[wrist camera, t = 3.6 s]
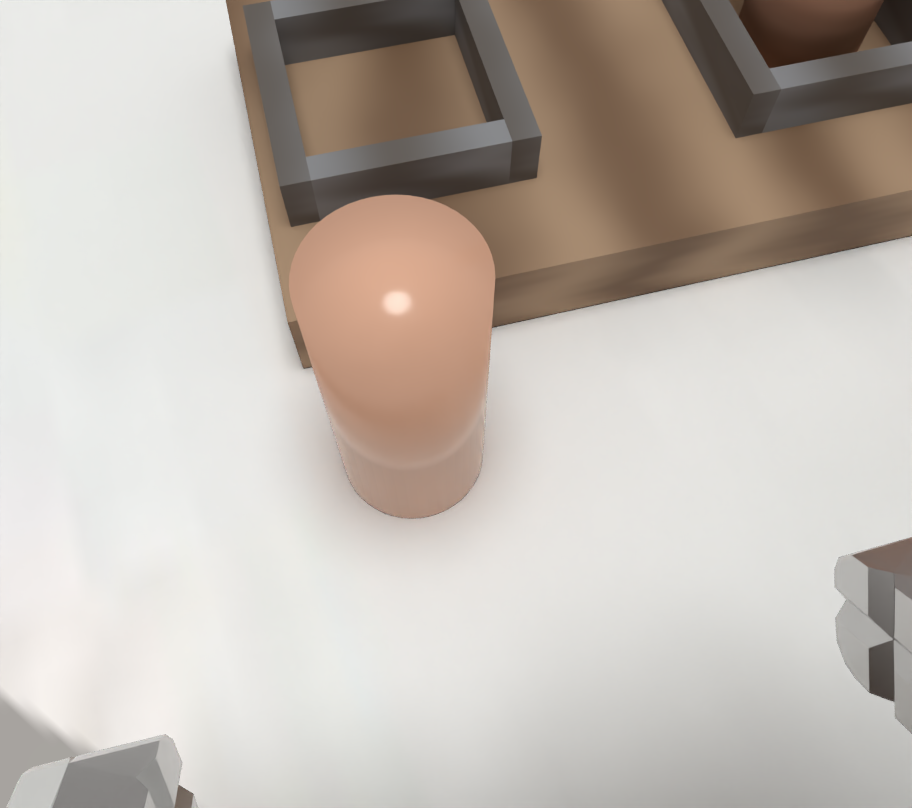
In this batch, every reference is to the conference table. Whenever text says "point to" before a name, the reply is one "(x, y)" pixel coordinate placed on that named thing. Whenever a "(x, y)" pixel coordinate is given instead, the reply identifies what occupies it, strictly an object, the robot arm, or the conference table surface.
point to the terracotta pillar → (400, 346)
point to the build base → (588, 131)
